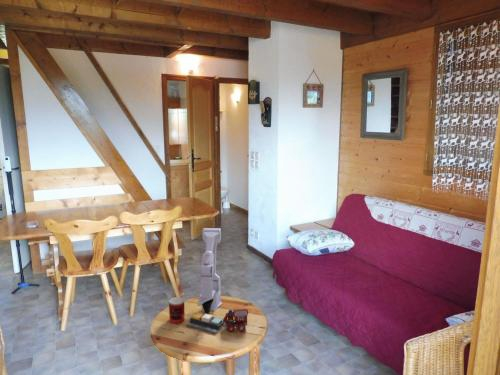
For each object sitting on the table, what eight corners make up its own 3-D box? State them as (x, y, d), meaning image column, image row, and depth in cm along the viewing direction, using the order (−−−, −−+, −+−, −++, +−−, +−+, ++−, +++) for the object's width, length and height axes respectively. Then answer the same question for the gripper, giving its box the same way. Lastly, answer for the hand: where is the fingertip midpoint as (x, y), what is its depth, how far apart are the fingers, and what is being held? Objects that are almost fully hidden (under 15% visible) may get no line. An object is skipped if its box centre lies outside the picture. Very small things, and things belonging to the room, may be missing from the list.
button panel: (198, 315, 201) (198, 310, 201) (227, 322, 195) (227, 317, 194) (186, 326, 191) (186, 321, 190) (216, 334, 184) (216, 329, 183)
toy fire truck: (222, 325, 192) (222, 306, 190) (247, 324, 193) (247, 305, 191) (223, 333, 185) (223, 313, 183) (248, 331, 186) (248, 312, 185)
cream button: (205, 317, 195) (205, 313, 195) (212, 319, 193) (212, 315, 193) (201, 321, 191) (201, 317, 191) (208, 322, 190) (208, 319, 189)
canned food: (180, 314, 202) (179, 295, 200) (187, 321, 196) (187, 301, 194) (166, 319, 197) (166, 299, 195) (174, 325, 191) (173, 305, 189)
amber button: (196, 316, 197) (196, 312, 197) (203, 318, 196) (203, 314, 195) (192, 320, 194) (192, 316, 193) (199, 321, 192) (198, 318, 192)
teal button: (215, 321, 193) (215, 317, 192) (222, 322, 191) (222, 319, 191) (211, 325, 189) (211, 321, 189) (218, 326, 188) (218, 323, 187)
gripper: (207, 280, 197) (207, 305, 200) (191, 292, 184) (192, 318, 187) (219, 283, 194) (219, 307, 197) (204, 295, 181) (204, 321, 184)
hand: (206, 313), depth 192 cm, fingers closed
